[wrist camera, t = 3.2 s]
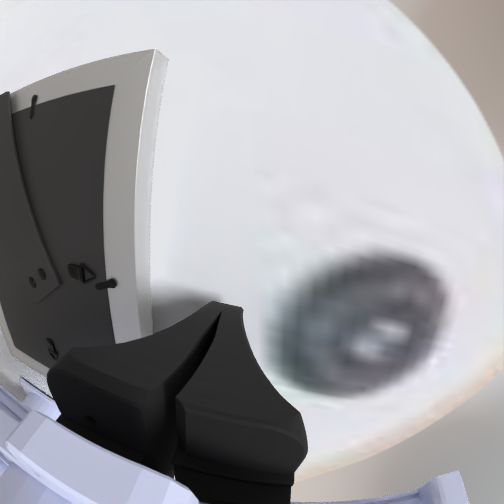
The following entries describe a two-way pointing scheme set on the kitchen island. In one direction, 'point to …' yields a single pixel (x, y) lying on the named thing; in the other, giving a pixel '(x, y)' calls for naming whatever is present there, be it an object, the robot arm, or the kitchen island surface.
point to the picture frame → (78, 207)
